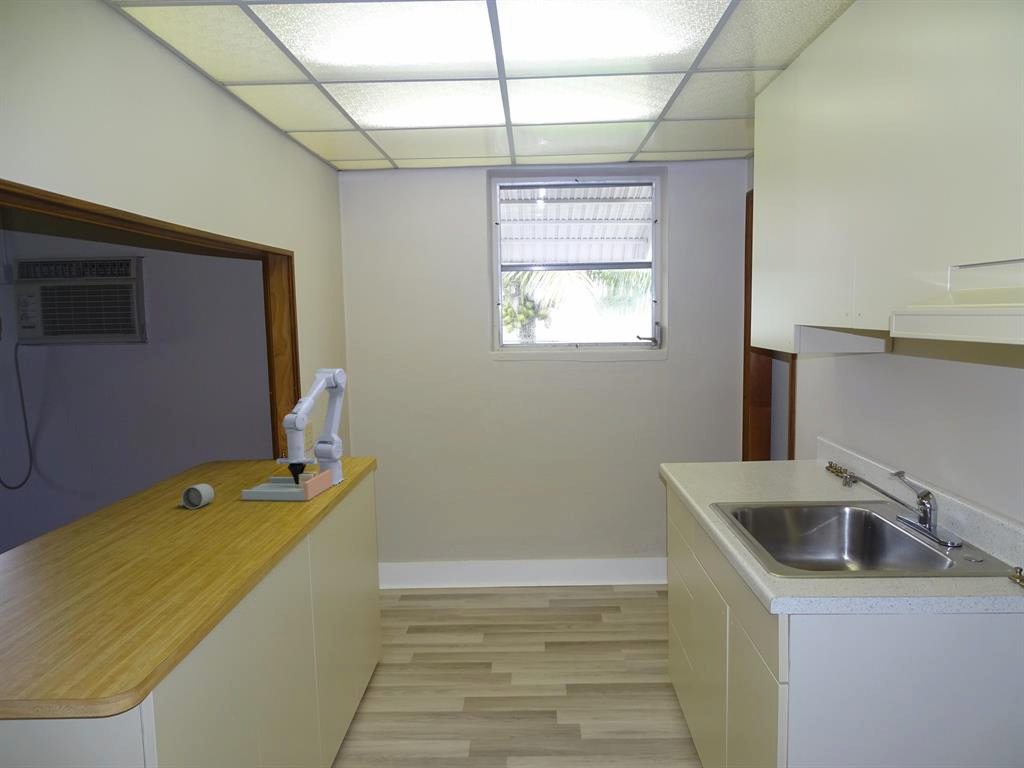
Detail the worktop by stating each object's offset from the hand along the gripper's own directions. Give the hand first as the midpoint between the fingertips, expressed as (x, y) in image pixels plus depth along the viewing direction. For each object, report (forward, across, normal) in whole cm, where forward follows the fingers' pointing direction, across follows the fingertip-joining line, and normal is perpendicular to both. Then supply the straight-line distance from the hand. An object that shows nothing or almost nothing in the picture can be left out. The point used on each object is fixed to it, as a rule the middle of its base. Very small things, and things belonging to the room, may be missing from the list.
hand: (298, 483), depth 246 cm
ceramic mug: (+4, -29, -18) cm, 34 cm away
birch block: (+1, +4, 0) cm, 4 cm away
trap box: (+3, -4, 0) cm, 5 cm away
